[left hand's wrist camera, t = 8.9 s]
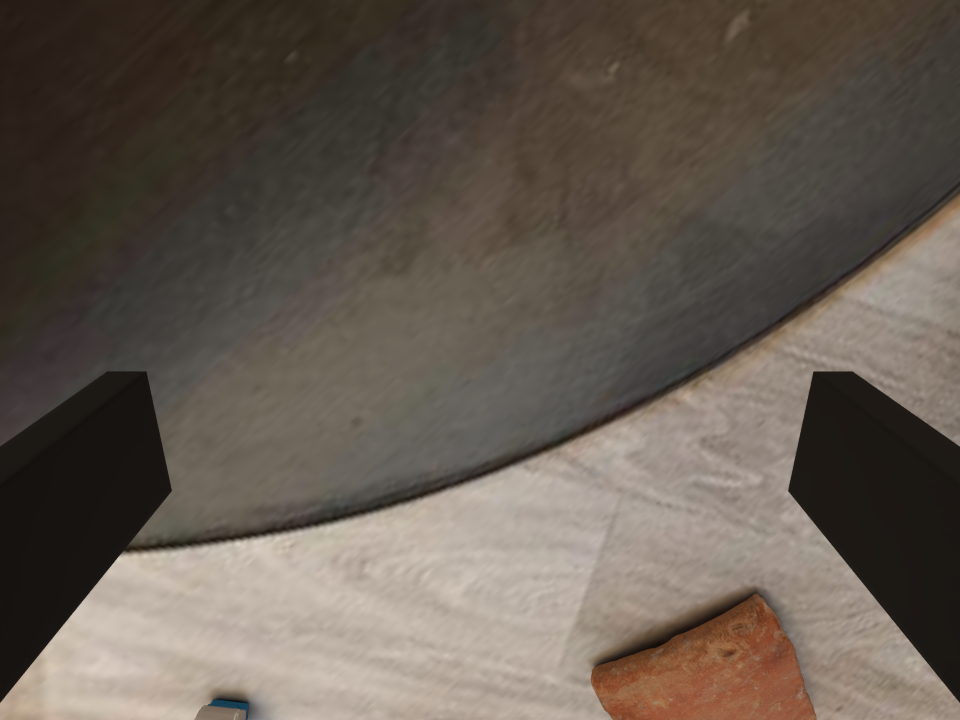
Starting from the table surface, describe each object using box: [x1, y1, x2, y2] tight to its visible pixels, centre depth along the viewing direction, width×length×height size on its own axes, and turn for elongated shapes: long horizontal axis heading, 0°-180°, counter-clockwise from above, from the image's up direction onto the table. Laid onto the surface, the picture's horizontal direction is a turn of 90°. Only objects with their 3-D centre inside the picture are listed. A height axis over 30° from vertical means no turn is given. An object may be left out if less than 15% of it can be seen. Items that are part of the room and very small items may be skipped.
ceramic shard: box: [591, 594, 816, 720], centre depth 49 cm, size 15×6×15 cm
